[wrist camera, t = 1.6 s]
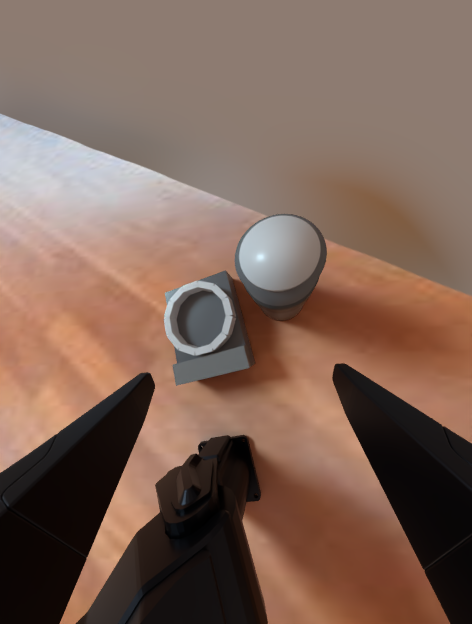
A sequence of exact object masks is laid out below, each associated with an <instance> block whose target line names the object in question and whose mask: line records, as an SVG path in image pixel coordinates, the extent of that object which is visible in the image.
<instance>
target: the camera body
mask: <svg viewBox="0 0 472 624" xmlns="http://www.w3.org/2000/svg"><path fill="white" fill-rule="evenodd" d="M165 296H166V302H167V308H166V311H165V315H164V317H165V319H164V324H165V330H166V335H168V336H167V337H168V339H169V340H170V341H171V342H172V344H173V345H174V348H175V353H176V359H177V364H174V365H173V370H174V376H175V382H176V386H177V385H181V384H185V383H189V382H193V381H197V380H201V379H206V378H210V377H214V376H218V375H222V374H226V373H230V372H234V371H239V370H243V369H247V368H250V367H251V366H252V365H254V364H255V360H254V357H253V353H252V349H251V346H250V342H249V338H248V335H247V331H246V327H245V324H244V320H243V316H242V312H241V309H240V305H239V301H238V298H237V294H236V290H235V287H234V283H233V279H232V277H231V276H230V275H229V274H228V273H227V271H226V270H225V271H223V272H220V273H217V274H215V275H212V276H209V277H207V278H204V279H201V280H199V281H195V282H192V283H189V284H187V285H184V286H182V287H180V288H177V289H174V290H172V291H169V292H166V293H165Z"/></svg>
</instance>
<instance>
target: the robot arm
mask: <svg viewBox="0 0 472 624" xmlns="http://www.w3.org/2000/svg"><path fill="white" fill-rule="evenodd" d="M332 379H333V383H334V385H335V388H336V391H337V393H338V396H339V398H340V401H341V404H342V406H343V409H344V411H345V414H346V416H347V418H348V420H349V422H350V424H351V426H352V428H353V430H354V432H355V434H356V436H357V438H358V440H359V442H360V444H361V446H362V448H363V450H364V452H365V454H366V456H367V458H368V460H369V462H370V464H371V466H372V468H373V470H374V472H375V474H376V476H377V478H378V480H379V482H380V484H381V486H382V488H383V490H384V492H385V494H386V496H387V498H388V500H389V502H390V504H391V506H392V508H393V510H394V512H395V514H396V516H397V518H398V520H399V522H400V524H401V526H402V528H403V530H404V532H405V534H406V536H407V538H408V540H409V542H410V544H411V546H412V548H413V550H414V552H415V554H416V556H417V558H418V560H419V562H420V564H421V566H422V568H423V569H424V570H425V574H426V576H427V578H428V580H429V582H430V584H431V586H432V588H433V590H434V592H435V594H436V596H437V598H438V600H439V602H440V604H441V606H442V608H443V610H444V612H445V614H446V616H447V618H448V620H449V622H450V624H472V443H470V442H468V441H467V440H465V439H463V438H462V437H460V436H459V435H457V434H455V433H454V432H452V431H451V430H449V429H448V428H446V427H442V425H441V424H440V423H438V422H436V421H435V420H433V419H432V418H430V417H429V416H427V415H425V414H424V413H422V412H421V411H419V410H418V409H416V408H414V407H413V406H411V405H410V404H408V403H407V402H405V401H403V400H402V399H400V398H399V397H397V396H396V395H394V394H392V393H391V392H389V391H388V390H386V389H385V388H383V387H381V386H380V385H378V384H377V383H375V382H374V381H372V380H370V379H369V378H367V377H366V376H364V375H362V374H361V373H359V372H358V371H356V370H355V369H353V368H351V367H350V366H348V365H347V364H344V363H342V364H335V366H334V371H333V377H332ZM154 389H155V383H154V381H153V378H152V376H151V374H150V373H140V374H139V375H137V376H136V377H135V378H133V379H132V380H131V381H129V382H128V383H126V384H125V385H124V386H122V387H121V388H119V389H118V390H117V391H115V392H114V393H113V394H111V395H110V396H108V397H107V398H106V399H104V400H103V401H101V402H100V403H99V404H97V405H96V406H95V407H93V408H92V409H90V410H89V411H88V412H86V413H85V414H84V415H82V416H81V417H79V418H78V419H77V420H75V421H74V422H72V423H71V424H70V425H68V426H67V427H66V428H64V429H63V430H61V431H60V432H59V433H58V434H56V435H54V436H53V437H52V438H50V439H49V440H48V441H46V442H45V443H43V444H42V445H41V446H39V447H38V448H36V449H35V450H33V451H32V452H31V453H29V454H28V455H26V456H25V457H23V458H22V459H20V460H19V461H17V462H16V463H15V464H13V465H12V466H10V467H9V468H7V469H6V470H4V471H3V472H1V473H0V624H59V623H60V621H61V619H62V616H63V614H64V612H65V609H66V607H67V604H68V602H69V600H70V597H71V595H72V593H73V590H74V588H75V585H76V583H77V581H78V578H79V576H80V574H81V571H82V569H83V566H84V564H85V562H86V558H87V556H88V554H89V552H90V549H91V547H92V545H93V542H94V540H95V537H96V535H97V533H98V530H99V528H100V526H101V523H102V521H103V518H104V516H105V514H106V511H107V509H108V507H109V504H110V502H111V499H112V497H113V495H114V492H115V490H116V487H117V485H118V483H119V480H120V478H121V476H122V473H123V471H124V468H125V466H126V464H127V461H128V459H129V457H130V454H131V452H132V449H133V447H134V445H135V442H136V440H137V438H138V435H139V433H140V430H141V428H142V426H143V423H144V421H145V418H146V415H147V412H148V409H149V405H150V402H151V399H152V396H153V393H154ZM242 439H244V440H245V442H243V441H242ZM201 446H203V447H204V448H202V447H201ZM198 450H199V454H198V455H197V454H193V455H190V456H189V458H188V459H187V460H186V461H185V463H184V464H183V465H182V466H179V467H175V468H174V469H172V470H170V471H169V472H168V473H167V475H165V476H164V477H163V478H162V479H161V480H159V481H158V482H157V483H156V485H155V486H156V492H157V497H158V502H159V508H160V513H159V514H158V515H157V516H155V517H154V518H153V519H152V520H151V521H150V522H148V523H147V524H146V525H145V526H144V527H142V528H141V529H140V530H139V531H138V532H137V533H136V534H135V536H134V537H133V539H132V540H131V542H130V544H129V545H128V547H127V549H126V550H125V552H124V553H123V555H122V557H121V558H120V560H119V562H118V563H117V565H116V566H115V568H114V570H113V571H112V573H111V575H110V576H109V578H108V579H107V581H106V583H105V584H104V586H103V588H102V589H101V591H100V593H99V594H98V596H97V597H96V599H95V601H94V602H93V604H92V606H91V607H90V609H89V610H88V612H87V613H86V614H85V615H84V616H83V617H82V618H81V619H80V620H79V621H78V622H77V623H76V624H268V621H267V615H266V609H265V603H264V599H263V595H262V592H261V588H260V585H259V581H258V577H257V574H256V570H255V566H254V563H253V559H252V555H251V552H250V548H249V544H248V541H247V537H246V533H245V530H244V526H243V522H242V519H243V515H244V511H245V506H246V502H250V501H259V500H260V497H261V492H260V487H259V483H258V479H257V475H256V471H255V467H254V462H253V458H252V454H251V450H250V446H249V442H248V438H247V437H246V436H245V435H240V436H234V437H230V436H228V435H227V436H221V437H215V438H211V439H210V440H209V441H203V442H201V443H200V444H199V445H198ZM255 493H257V494H258V495H255Z"/></svg>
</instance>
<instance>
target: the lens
mask: <svg viewBox="0 0 472 624" xmlns="http://www.w3.org/2000/svg"><path fill="white" fill-rule="evenodd" d="M326 256H327V249H326V243H325V240H324V237H323V235H322V233H321V232H320V231H319V229H318V228H317V227H316V226H315V225H314V224H313V223H312V222H310V221H309V220H307V219H305V218H303V217H300V216H297V215H292V214H278V215H273V216H269V217H266V218H264V219H262V220H260V221H258V222H257V223H255V224H254V225H252V226H251V227H250V228H249V229H248V230H247V231H246V232H245V234H244V235H243V236H242V238H241V239H240V241H239V243H238V246H237V249H236V253H235V267H236V271H237V274H238V276H239V278H240V280H241V281H242V283H243V284H244V286H245V288H246V290H247V292H248V293H249V295H250V296H251V297H252V298H253V300H254V301H255V302H256V303H257V305H259V306H260V308H261V309H262V310H263V312H264V313H265V314H266V315H267V316H268V317H270V318H272V319H275V320H288V319H291V318H293V317H294V316H296V315H297V314H298V313H299V312H300V310H301V309H302V307H303V305H304V303H305V302H306V301H307V300H308V298H309V296H310V295H311V293H312V291H313V290H314V288H315V286H316V284H317V282H318V279H319V276H320V274H321V272H322V270H323V268H324V265H325V262H326Z"/></svg>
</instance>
